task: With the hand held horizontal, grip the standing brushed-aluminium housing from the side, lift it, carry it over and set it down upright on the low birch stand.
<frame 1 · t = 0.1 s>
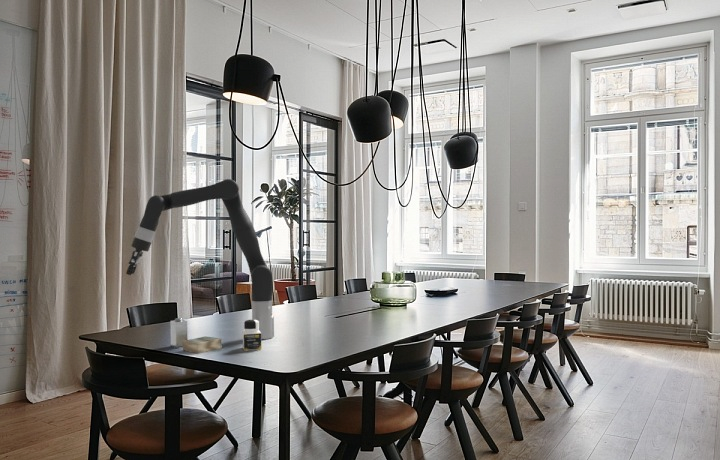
hand: (129, 273, 253), 31 cm above the table, fingers open, 8 cm apart
stand: (202, 349, 243), on the table
medicine bottle: (252, 349, 243), on the table
housing: (179, 346, 250), on the table
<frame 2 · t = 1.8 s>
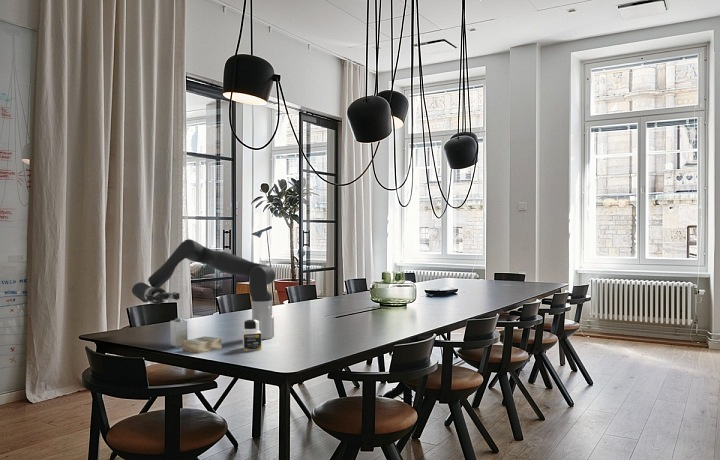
hand: (168, 298, 259), 20 cm above the table, fingers open, 8 cm apart
nothing on the table moved.
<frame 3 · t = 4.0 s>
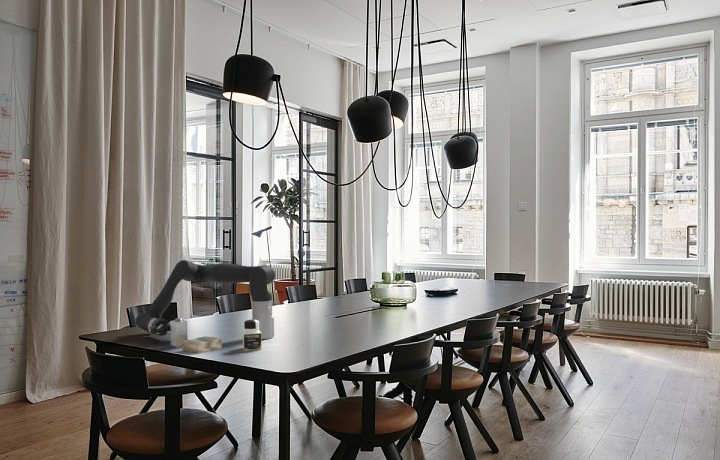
hand: (172, 330, 256), 6 cm above the table, fingers open, 8 cm apart
nothing on the table moved.
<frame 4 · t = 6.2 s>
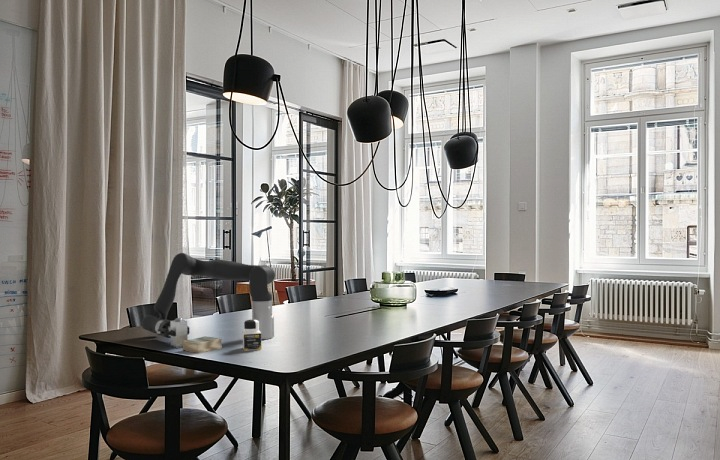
hand: (181, 333, 248), 6 cm above the table, fingers closed on housing, 5 cm apart
housing: (179, 346, 250), on the table, touching gripper
everything else where it was.
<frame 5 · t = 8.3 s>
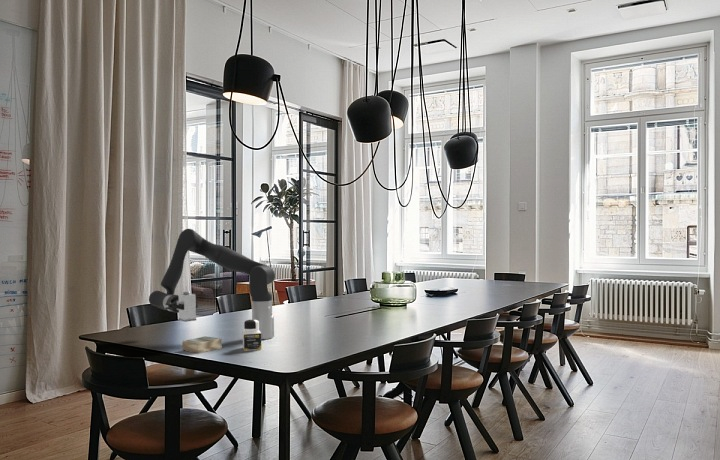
hand: (189, 306, 246), 18 cm above the table, fingers closed on housing, 5 cm apart
housing: (187, 320, 248), point 12 cm above the table, touching gripper
everything else where it was.
when the fingers open (11 cm above the table, at t = 10.5 s): housing stays where it is, resting on stand.
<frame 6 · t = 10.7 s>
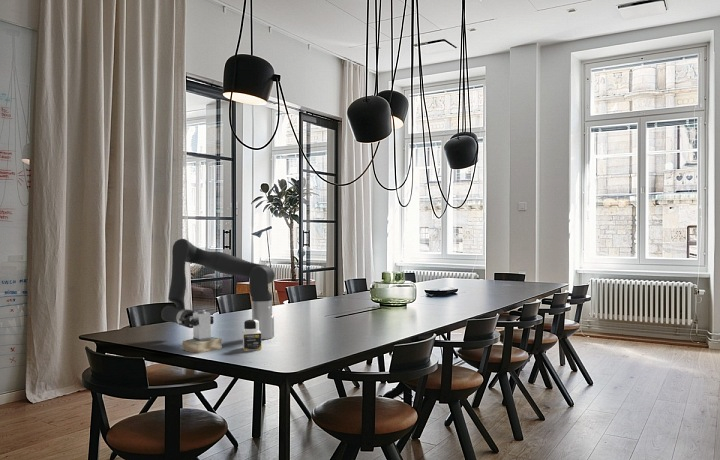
hand: (204, 322, 241), 11 cm above the table, fingers open, 6 cm apart
housing: (202, 339, 243), point 4 cm above the table, touching stand
everything else where it was.
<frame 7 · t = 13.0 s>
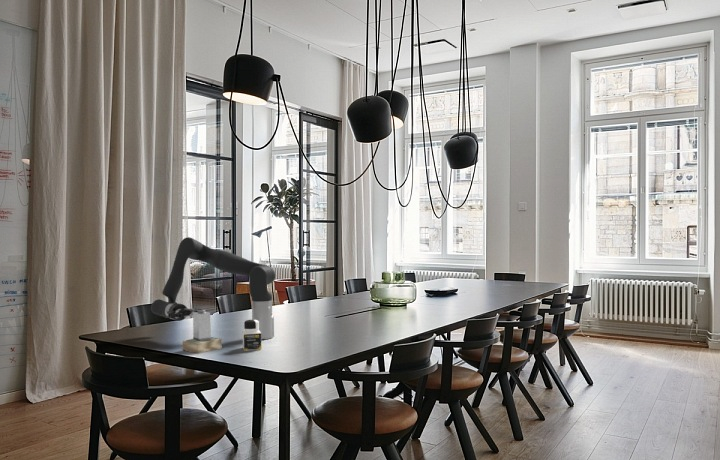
hand: (190, 314, 252), 13 cm above the table, fingers open, 8 cm apart
nothing on the table moved.
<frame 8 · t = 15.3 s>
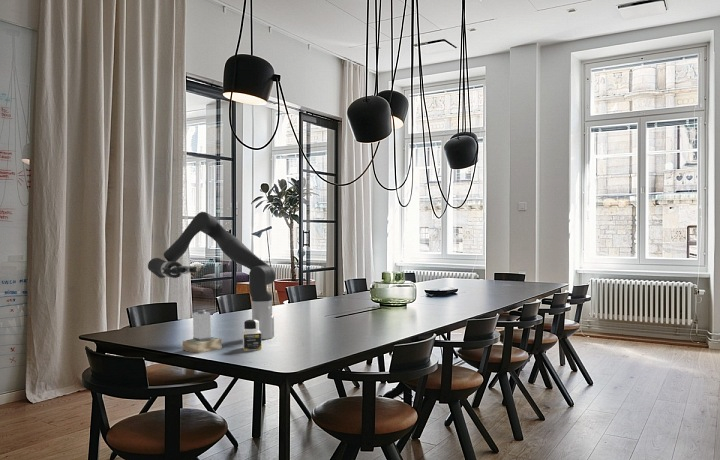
hand: (185, 270, 257), 32 cm above the table, fingers open, 8 cm apart
nothing on the table moved.
at the end: housing inside the target area on the stand (0.1 cm from its centre), point 4.3 cm above the stand's base; housing tilted 0°; the gripper is holding nothing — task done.
